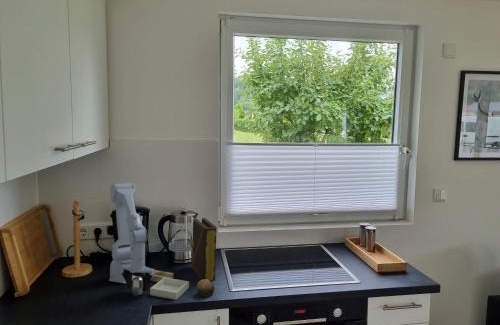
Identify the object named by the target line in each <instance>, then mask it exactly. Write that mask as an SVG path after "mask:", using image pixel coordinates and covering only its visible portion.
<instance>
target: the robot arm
mask: <svg viewBox="0 0 500 325" xmlns="http://www.w3.org/2000/svg"><path fill="white" fill-rule="evenodd" d="M109 190H110V200H111V203H113V204H114V206H115V212H116V213H115V215H116V227H117V237H118V239H117V240H116V241H115V242H114V243H113V244H112V251H111V257H112V261H111V263H110V267H109V279H108V281H109V282H113V283H114V282H115V283H121V284H125V285H126V288H127V289H131V288H133V278H134V277H137V276H138V275H137V276H136V275H134V273H135V274H136V273H139V274H142V276H141V277H142V279H143V284H142V291H143V292H146V291H147V290H148V289H149V285H150V282H151V281H150V280H151V278H152V276H153V274H154V270H155V268H150V267H148V266H146V242H147V241H148V237H149V235H148V230H147V229H146V227H145V225H143V223H142V219H141V216H140V214H139V213H137V211H136V210H137V209H136V206H135V199H134V198H135V196H136V192H137V191H136V184H135V183H134V182H128V183H127V182H126V183H123V182H122V183H112V184H111V186H110V189H109ZM144 274H145V275H144Z"/></svg>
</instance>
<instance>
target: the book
mask: <svg viewBox="0 0 500 325" xmlns="http://www.w3.org/2000/svg"><path fill="white" fill-rule="evenodd" d="M217 228H218V226H216V224H213V223H212V222H211V221H210V220H208V219H207V218H205V217H201V221H200V220H198V219H197V218H193V219H192V239H191V240H190V242H189V245H190V247H191V249H192V250H191V269H192V270H193V271H194V273H195V274H196V275H197V277H198V278H199V279H200V280H203V279H208V280H210V281H211V282H212V283H213V282H215V281H216V264H217V263H216V262H217V260H216V259H217V234H218V233H217V232H218V230H217Z"/></svg>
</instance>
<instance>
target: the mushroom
mask: <svg viewBox="0 0 500 325" xmlns="http://www.w3.org/2000/svg"><path fill="white" fill-rule="evenodd" d="M196 291H197V292H198V294H199V295H200V296H203V297H210V296H211V295H213V294H214V292H215V285H214V284H213V281H212V282H211V281H210V280H208V279H203V280H201V279H200V280H199V281H198V282H197V284H196Z"/></svg>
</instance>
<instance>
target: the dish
mask: <svg viewBox="0 0 500 325" xmlns="http://www.w3.org/2000/svg"><path fill="white" fill-rule="evenodd" d="M189 288H190V281H187V280H183V279H178V278H177V279H176V278H173V279H170V278H163V279H162V280H160V281H159V282H156V284H154V285H152V286H151V287H150V288H149V291H150V292H149V294H150V295H149V296H153V297H156V298H157V297H158V298H163V299H170V300H175V301H177V300H178V299H179V298H181V296H182V295H183V294H185V292H187V291H188V290H189Z"/></svg>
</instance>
